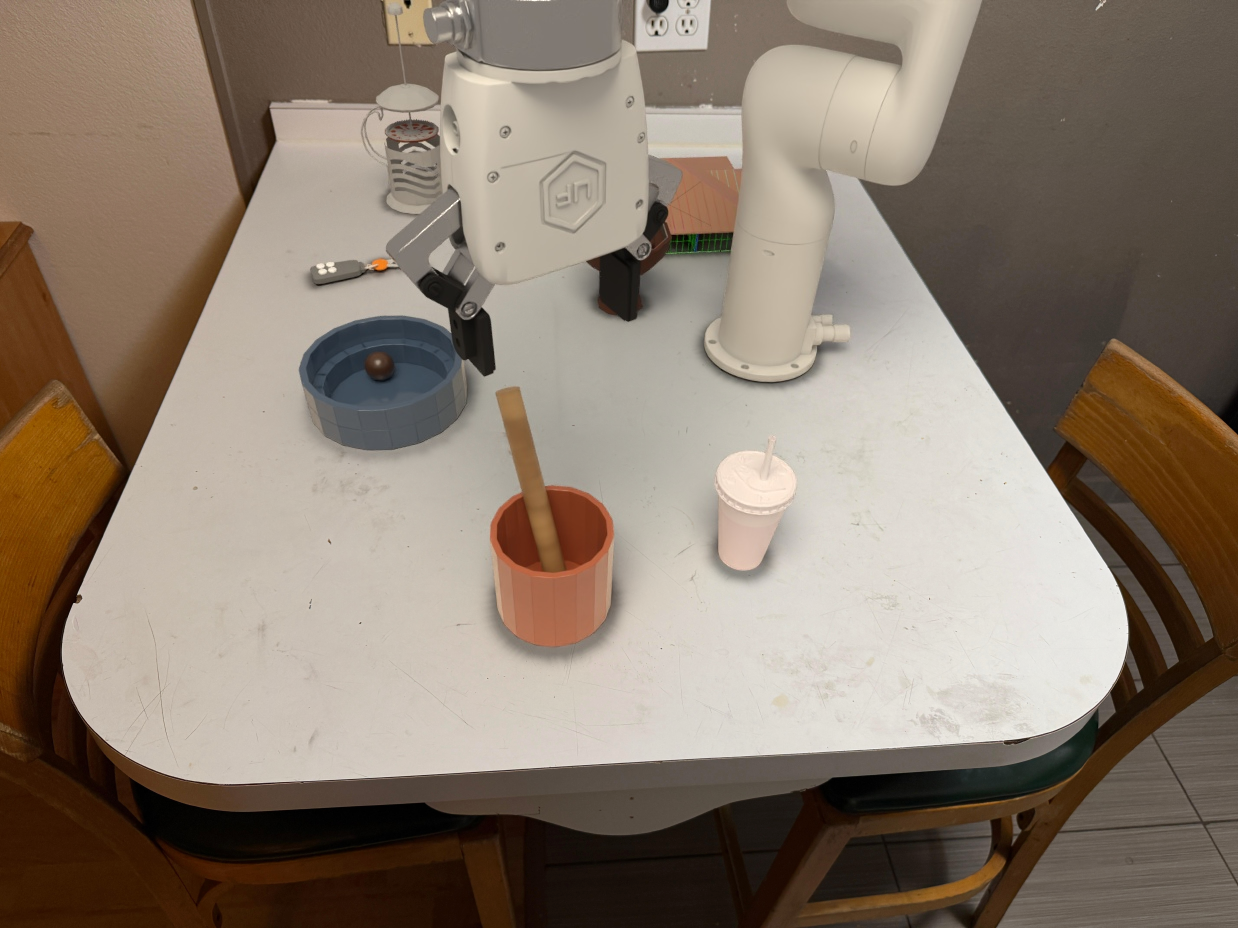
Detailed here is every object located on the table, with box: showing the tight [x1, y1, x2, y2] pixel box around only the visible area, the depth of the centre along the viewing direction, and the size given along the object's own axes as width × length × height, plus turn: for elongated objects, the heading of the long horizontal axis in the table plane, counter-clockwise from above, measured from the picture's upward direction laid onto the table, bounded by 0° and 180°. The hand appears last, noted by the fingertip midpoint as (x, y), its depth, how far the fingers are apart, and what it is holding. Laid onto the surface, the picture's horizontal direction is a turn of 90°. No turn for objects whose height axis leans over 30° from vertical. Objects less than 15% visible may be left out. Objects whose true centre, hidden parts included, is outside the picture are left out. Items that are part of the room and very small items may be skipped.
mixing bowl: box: [298, 314, 468, 451], centre depth 81 cm, size 15×15×6 cm
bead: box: [364, 351, 395, 381], centre depth 84 cm, size 3×3×3 cm
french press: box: [360, 2, 443, 215], centre depth 107 cm, size 10×12×25 cm
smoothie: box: [713, 435, 798, 571], centre depth 65 cm, size 6×6×14 cm
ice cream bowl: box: [585, 222, 673, 316], centre depth 93 cm, size 11×11×15 cm
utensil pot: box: [489, 484, 615, 648], centre depth 63 cm, size 9×9×9 cm
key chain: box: [309, 258, 399, 285], centre depth 101 cm, size 13×4×2 cm, turn 114°
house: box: [659, 155, 742, 255], centre depth 112 cm, size 23×33×8 cm
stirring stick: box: [495, 385, 567, 573], centre depth 62 cm, size 2×2×18 cm
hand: (550, 335), depth 48 cm, fingers open, 9 cm apart
